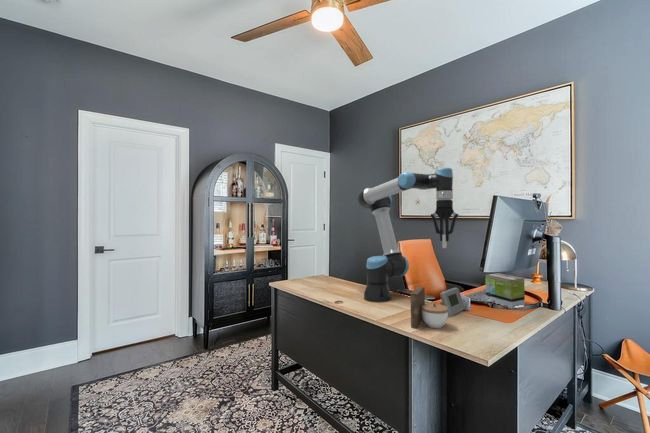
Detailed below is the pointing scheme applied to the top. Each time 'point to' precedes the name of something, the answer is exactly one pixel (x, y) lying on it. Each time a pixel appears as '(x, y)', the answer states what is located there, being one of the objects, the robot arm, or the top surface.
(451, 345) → the top surface
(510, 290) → the tea box
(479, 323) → the top surface
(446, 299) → the digital clock
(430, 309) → the lidded jar
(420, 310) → the walnut board
